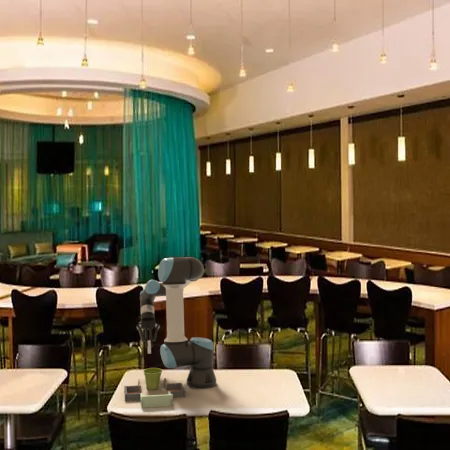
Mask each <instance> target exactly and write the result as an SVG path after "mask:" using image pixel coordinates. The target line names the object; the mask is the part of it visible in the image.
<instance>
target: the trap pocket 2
mask: <svg viewBox="0 0 450 450" xmlns="http://www.w3.org/2000/svg"><path fill="white" fill-rule="evenodd" d="M166 391H167V392H168V391H170V392H171V394H173V399H176V398H178V399H179V398H180V399H181V398H186V390H185V387H184V385H183V383H182V382H175V383H168V384H167V390H166Z"/></svg>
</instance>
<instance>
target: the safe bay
mask: <svg viewBox="0 0 450 450" xmlns="http://www.w3.org/2000/svg"><path fill="white" fill-rule="evenodd" d="M140 393H141V394H140V400H139V401H140V402H139V403H140V407H141V409H143V408H144V409H145V408H160V407H173V406H174V404H173V403H174V402H173V401H174V398H173V394H171V392H170V391H168V390H167V394H154V395H153V394H151V395H143V392H140Z"/></svg>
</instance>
